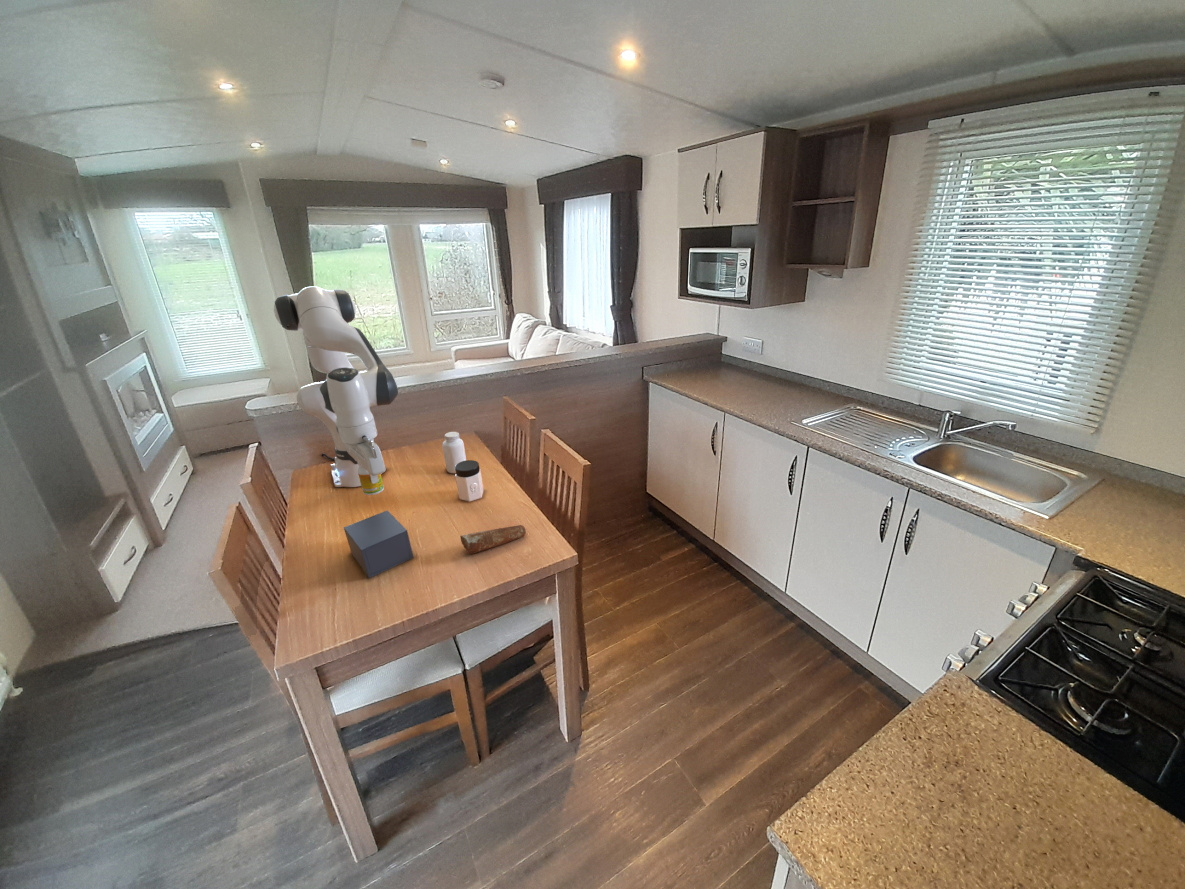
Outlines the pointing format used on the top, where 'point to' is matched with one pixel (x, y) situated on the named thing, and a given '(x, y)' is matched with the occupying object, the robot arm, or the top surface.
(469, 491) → the jar
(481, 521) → the top surface
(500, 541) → the rusty brown tapered cylinder
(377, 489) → the supplement bottle
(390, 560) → the dark grey box
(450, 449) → the pill bottle
